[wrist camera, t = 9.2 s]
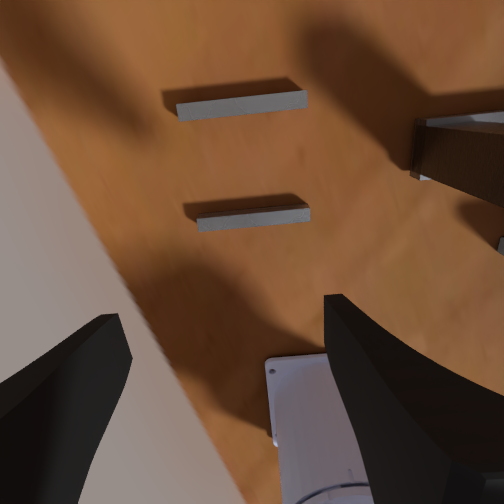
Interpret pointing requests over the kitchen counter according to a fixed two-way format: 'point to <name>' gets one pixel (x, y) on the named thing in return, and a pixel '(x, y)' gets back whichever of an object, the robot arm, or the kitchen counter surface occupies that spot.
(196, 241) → the kitchen counter surface
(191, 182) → the kitchen counter surface
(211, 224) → the rail
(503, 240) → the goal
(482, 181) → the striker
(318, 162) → the kitchen counter surface
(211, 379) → the kitchen counter surface
